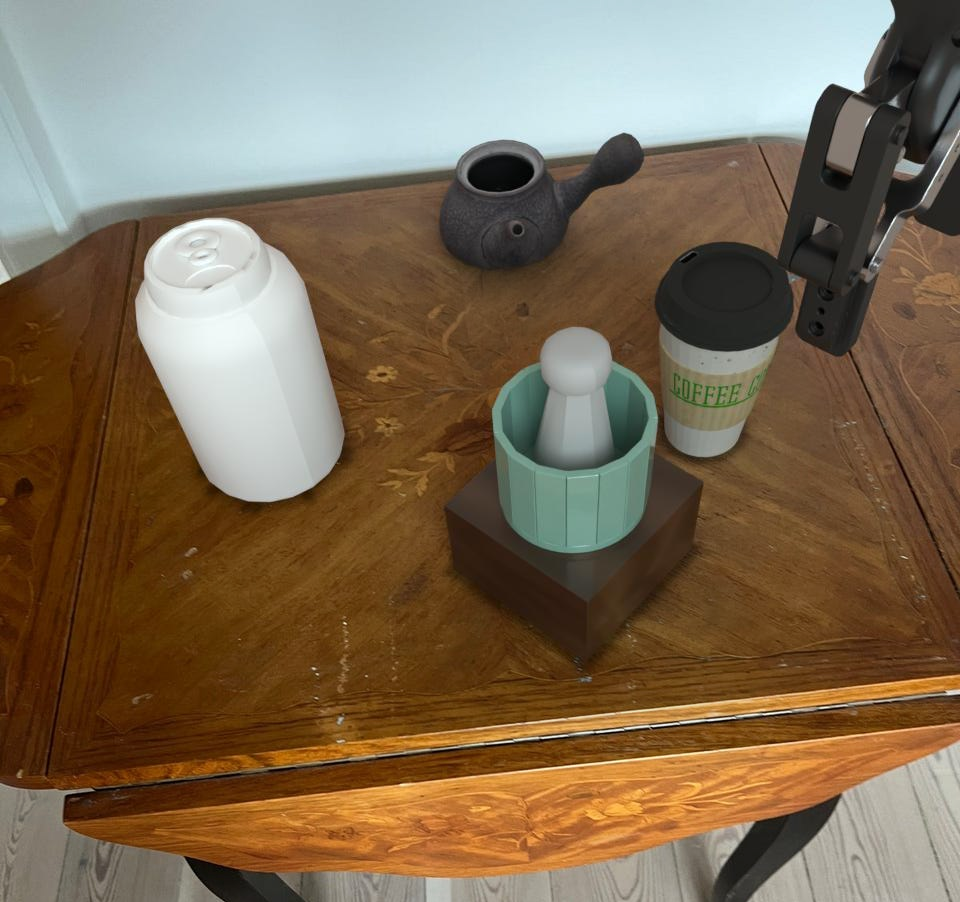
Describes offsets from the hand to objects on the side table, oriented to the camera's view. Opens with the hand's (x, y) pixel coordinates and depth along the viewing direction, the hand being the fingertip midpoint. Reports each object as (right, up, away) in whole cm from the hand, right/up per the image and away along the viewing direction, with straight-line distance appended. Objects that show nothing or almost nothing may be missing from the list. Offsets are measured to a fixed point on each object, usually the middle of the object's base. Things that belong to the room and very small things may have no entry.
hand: (883, 281), depth 39 cm
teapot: (-10, +24, +57) cm, 63 cm away
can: (-33, +2, +46) cm, 57 cm away
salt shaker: (-9, -3, +31) cm, 32 cm away
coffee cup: (+3, +3, +44) cm, 44 cm away
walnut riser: (-9, -8, +38) cm, 40 cm away
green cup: (-9, -4, +31) cm, 33 cm away
